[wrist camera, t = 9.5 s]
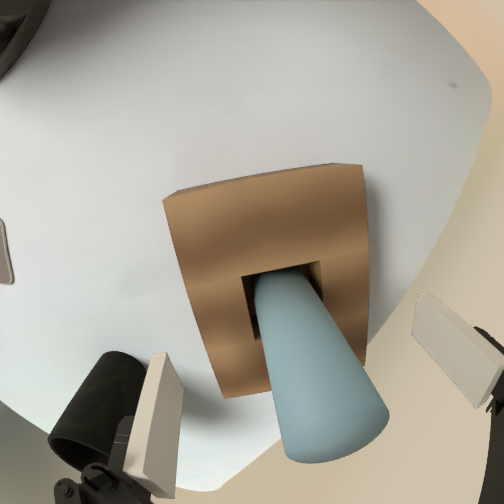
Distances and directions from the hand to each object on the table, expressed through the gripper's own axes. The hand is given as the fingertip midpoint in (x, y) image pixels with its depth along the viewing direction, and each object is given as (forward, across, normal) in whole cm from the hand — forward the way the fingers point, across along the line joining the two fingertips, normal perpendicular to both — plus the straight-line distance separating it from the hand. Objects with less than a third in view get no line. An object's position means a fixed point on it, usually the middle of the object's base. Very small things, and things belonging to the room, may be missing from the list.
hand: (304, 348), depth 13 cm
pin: (+9, 0, 0) cm, 9 cm away
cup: (+10, -17, -8) cm, 22 cm away
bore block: (+10, 0, 0) cm, 10 cm away
